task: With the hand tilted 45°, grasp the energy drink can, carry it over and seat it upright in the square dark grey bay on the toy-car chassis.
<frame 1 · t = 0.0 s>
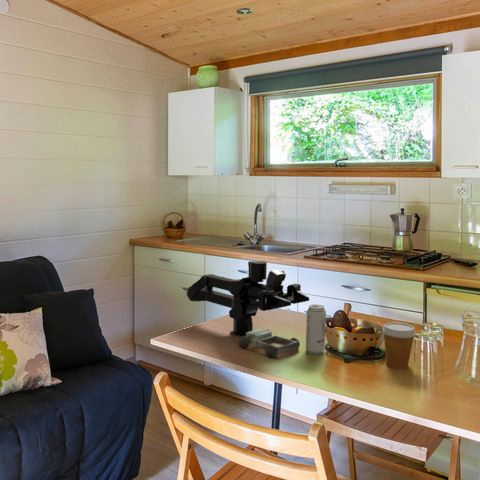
hand: (300, 301, 169), 17 cm above the table, tool horizontal, fingers open, 9 cm apart
chassis: (268, 348, 174), on the table
energy drink can: (314, 352, 172), on the table
disposable coffee cup: (396, 365, 161), on the table
frog figurine: (374, 348, 177), on the table
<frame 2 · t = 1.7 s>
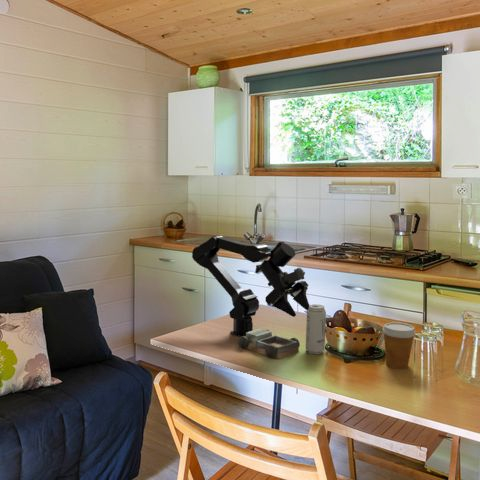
hand: (302, 313, 173), 12 cm above the table, tool tilted 45°, fingers open, 9 cm apart
nothing on the table moved.
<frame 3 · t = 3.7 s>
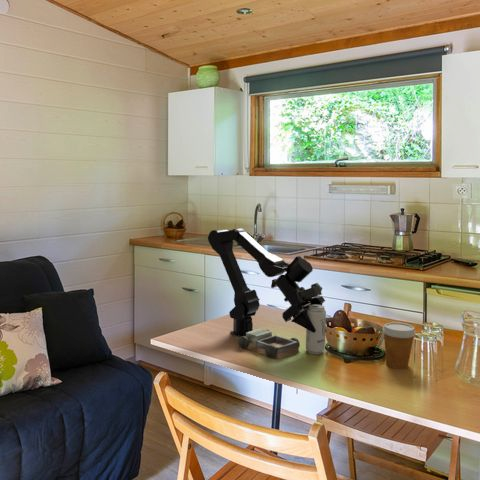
hand: (319, 329, 170), 8 cm above the table, tool tilted 45°, fingers closed on energy drink can, 6 cm apart
energy drink can: (315, 352, 172), on the table, touching gripper
everything else where it was.
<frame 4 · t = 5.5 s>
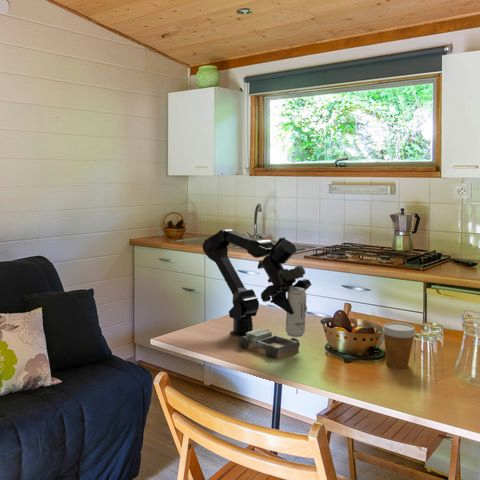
hand: (299, 312, 168), 13 cm above the table, tool tilted 45°, fingers closed on energy drink can, 6 cm apart
energy drink can: (294, 335, 171), point 6 cm above the table, touching gripper
everything else where it was.
when the fingers open (10 cm above the table, at t = 7.3 s): energy drink can stays where it is, resting on chassis.
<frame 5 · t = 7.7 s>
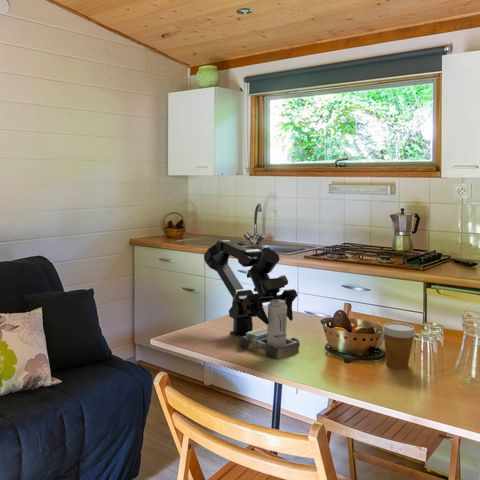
hand: (280, 322, 169), 10 cm above the table, tool tilted 45°, fingers open, 9 cm apart
energy drink can: (276, 347, 171), point 1 cm above the table, touching chassis
everything else where it was.
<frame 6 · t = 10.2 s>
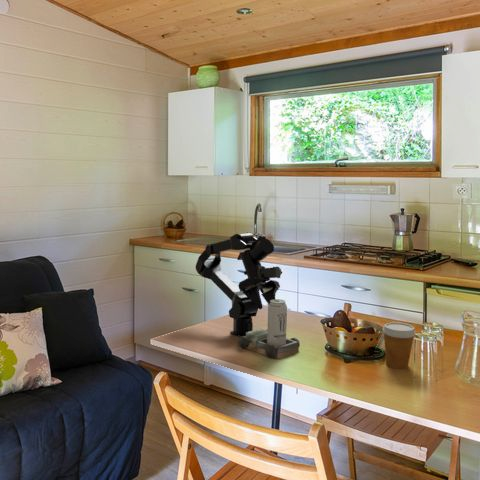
hand: (267, 309, 177), 12 cm above the table, tool tilted 35°, fingers open, 9 cm apart
nothing on the table moved.
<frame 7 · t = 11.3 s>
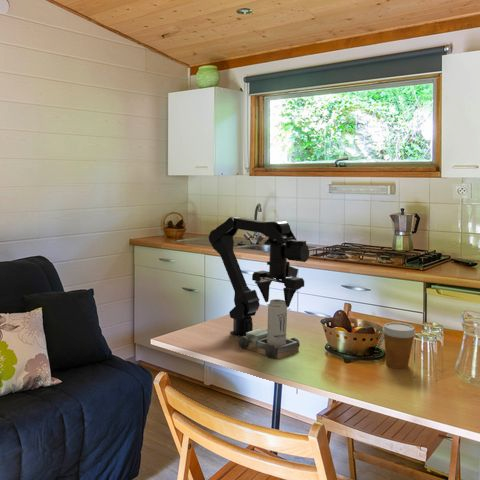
hand: (276, 304, 179), 13 cm above the table, tool pointing down, fingers open, 9 cm apart
nothing on the table moved.
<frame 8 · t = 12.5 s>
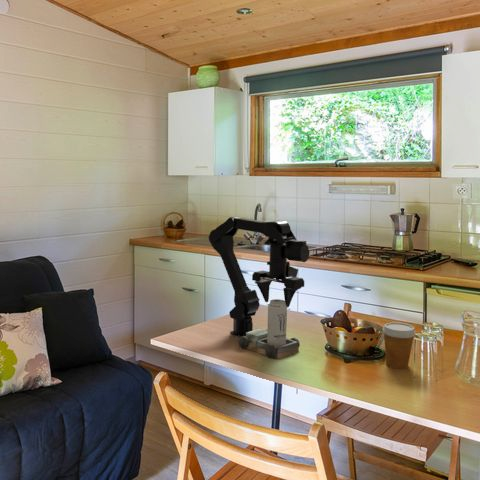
hand: (276, 304, 179), 13 cm above the table, tool pointing down, fingers open, 9 cm apart
nothing on the table moved.
at the end: energy drink can 0.1 cm from the target spot on the chassis, point 1.3 cm above the chassis's base; energy drink can tilted 0°; the gripper is holding nothing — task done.
